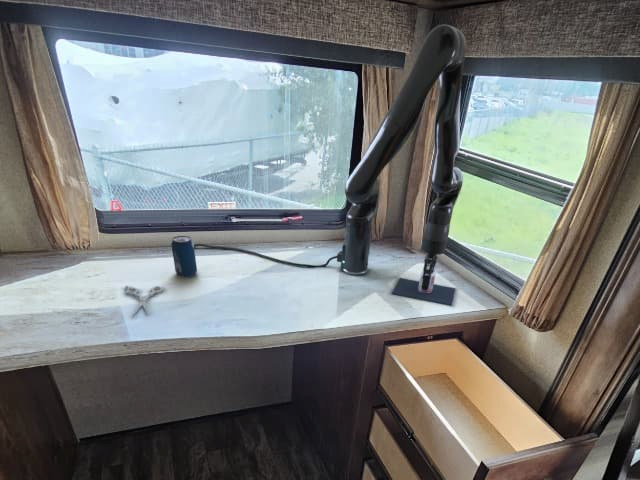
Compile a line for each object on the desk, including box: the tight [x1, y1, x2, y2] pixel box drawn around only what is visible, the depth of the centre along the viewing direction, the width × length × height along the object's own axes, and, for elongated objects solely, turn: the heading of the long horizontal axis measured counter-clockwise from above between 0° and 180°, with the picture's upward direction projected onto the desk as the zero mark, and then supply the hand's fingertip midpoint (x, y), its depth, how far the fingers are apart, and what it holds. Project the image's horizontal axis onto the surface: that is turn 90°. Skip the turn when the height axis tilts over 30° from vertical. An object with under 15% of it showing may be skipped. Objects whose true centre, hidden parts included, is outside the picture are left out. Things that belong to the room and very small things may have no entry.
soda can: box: [170, 235, 198, 278], centre depth 142 cm, size 7×7×12 cm
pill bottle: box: [418, 266, 437, 293], centre depth 145 cm, size 5×5×8 cm
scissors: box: [125, 285, 163, 316], centre depth 127 cm, size 11×1×20 cm
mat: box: [391, 277, 456, 307], centre depth 148 cm, size 20×14×1 cm
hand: (425, 286), depth 147 cm, fingers closed on pill bottle, 4 cm apart
